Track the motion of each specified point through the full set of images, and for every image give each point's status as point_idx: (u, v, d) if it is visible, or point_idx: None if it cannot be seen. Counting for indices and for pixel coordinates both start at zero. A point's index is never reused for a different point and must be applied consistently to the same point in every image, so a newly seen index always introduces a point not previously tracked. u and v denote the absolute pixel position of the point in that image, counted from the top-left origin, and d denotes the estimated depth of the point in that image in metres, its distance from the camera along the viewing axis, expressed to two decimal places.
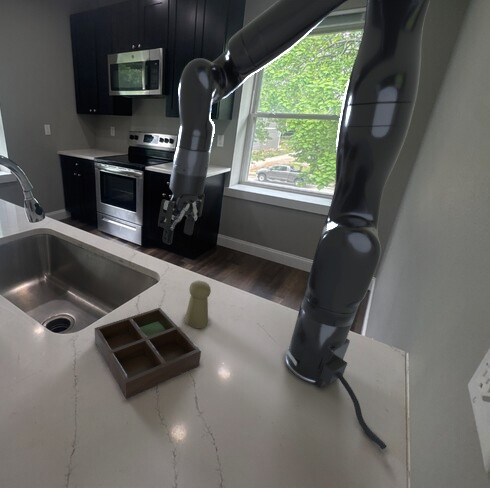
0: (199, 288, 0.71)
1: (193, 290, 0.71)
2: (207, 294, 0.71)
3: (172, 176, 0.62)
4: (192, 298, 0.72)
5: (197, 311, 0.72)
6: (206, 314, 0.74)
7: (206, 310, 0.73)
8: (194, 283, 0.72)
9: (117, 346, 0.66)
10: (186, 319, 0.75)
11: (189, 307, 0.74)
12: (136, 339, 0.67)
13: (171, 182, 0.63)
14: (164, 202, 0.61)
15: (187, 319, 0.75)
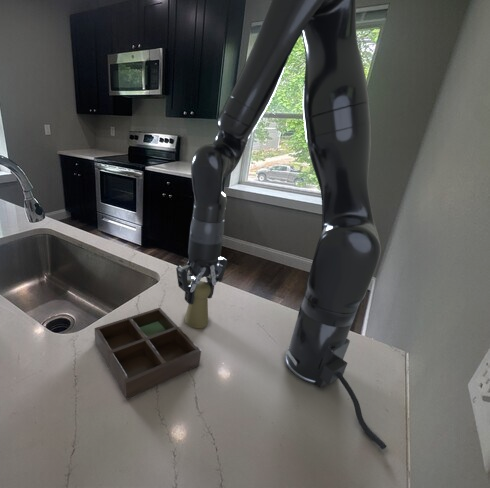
0: (199, 288, 0.70)
1: None
2: (207, 294, 0.71)
3: (189, 242, 0.68)
4: None
5: (197, 311, 0.72)
6: (206, 314, 0.74)
7: (206, 310, 0.73)
8: None
9: (117, 346, 0.66)
10: (186, 319, 0.75)
11: (189, 307, 0.74)
12: (136, 339, 0.67)
13: (188, 247, 0.68)
14: (178, 269, 0.67)
15: (187, 319, 0.75)
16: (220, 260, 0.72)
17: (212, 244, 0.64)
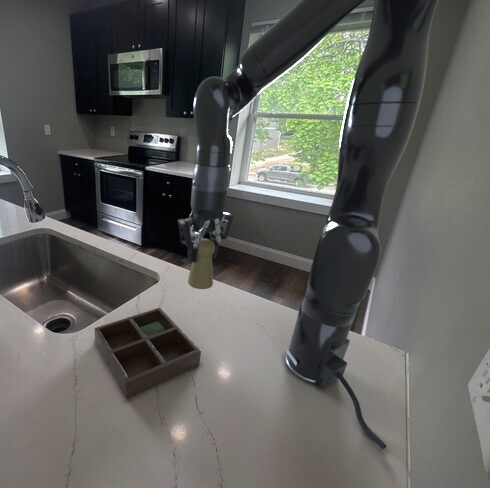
0: (202, 244, 0.66)
1: None
2: (211, 251, 0.66)
3: None
4: None
5: (201, 270, 0.68)
6: (210, 274, 0.69)
7: (210, 270, 0.69)
8: None
9: (117, 346, 0.66)
10: (189, 280, 0.70)
11: (192, 267, 0.69)
12: (136, 339, 0.67)
13: (191, 198, 0.64)
14: (180, 222, 0.62)
15: (190, 280, 0.70)
16: (225, 215, 0.67)
17: (217, 192, 0.59)
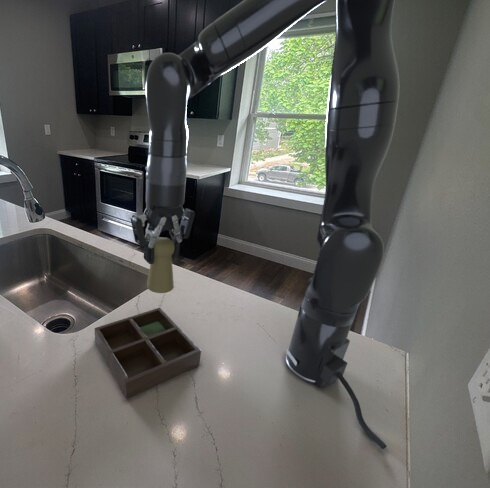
0: (159, 243, 0.59)
1: None
2: (169, 251, 0.60)
3: None
4: None
5: (158, 273, 0.61)
6: (170, 277, 0.63)
7: (170, 272, 0.62)
8: None
9: (117, 346, 0.66)
10: (147, 283, 0.64)
11: (150, 268, 0.63)
12: (136, 339, 0.67)
13: None
14: (132, 219, 0.56)
15: (148, 283, 0.64)
16: (186, 212, 0.61)
17: (171, 185, 0.53)
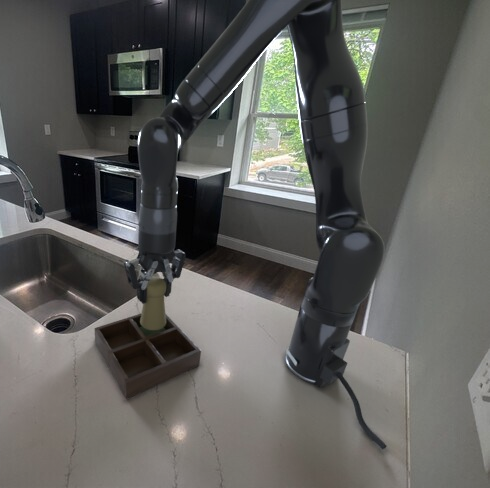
0: (152, 284, 0.62)
1: None
2: (161, 292, 0.63)
3: None
4: None
5: (151, 311, 0.64)
6: (162, 314, 0.66)
7: (162, 310, 0.65)
8: None
9: (117, 346, 0.66)
10: (141, 320, 0.67)
11: (143, 306, 0.66)
12: (136, 339, 0.67)
13: None
14: (125, 263, 0.59)
15: (141, 320, 0.67)
16: (177, 254, 0.64)
17: (162, 234, 0.56)
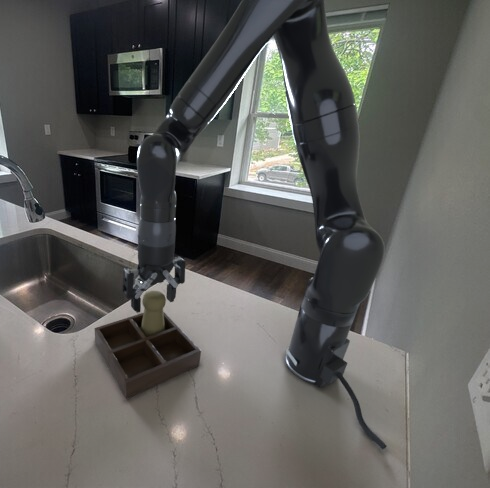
0: (151, 299, 0.64)
1: (145, 301, 0.64)
2: (161, 306, 0.64)
3: None
4: (145, 310, 0.66)
5: (150, 325, 0.66)
6: (161, 327, 0.67)
7: (161, 323, 0.67)
8: (147, 293, 0.66)
9: (117, 346, 0.66)
10: None
11: (143, 320, 0.67)
12: (136, 339, 0.67)
13: None
14: (125, 271, 0.59)
15: None
16: (176, 262, 0.65)
17: (161, 247, 0.57)
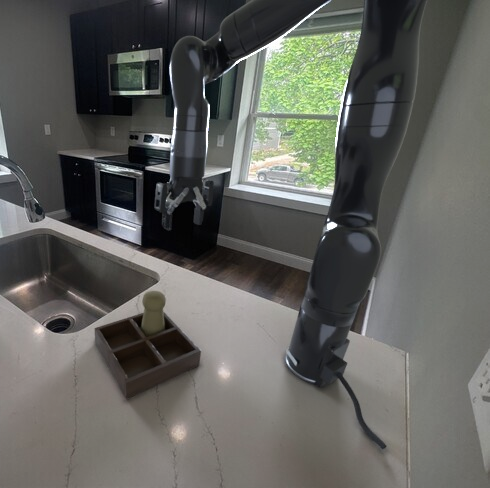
0: (151, 299, 0.64)
1: (145, 301, 0.64)
2: (161, 306, 0.64)
3: (170, 160, 0.62)
4: (145, 310, 0.66)
5: (150, 325, 0.66)
6: (161, 327, 0.67)
7: (161, 323, 0.67)
8: (147, 293, 0.66)
9: (117, 346, 0.66)
10: None
11: (143, 320, 0.67)
12: (136, 339, 0.67)
13: None
14: (158, 184, 0.61)
15: None
16: (205, 182, 0.67)
17: (194, 157, 0.59)
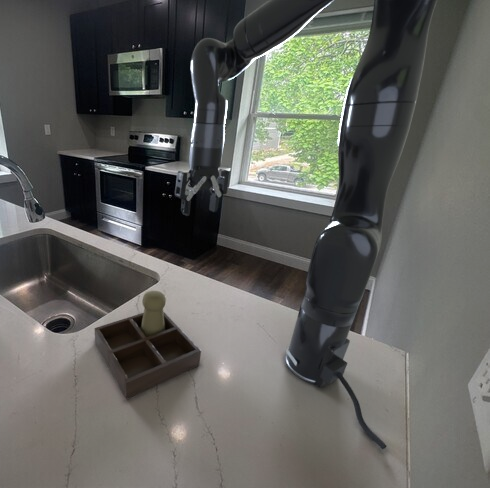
0: (151, 299, 0.64)
1: (145, 301, 0.64)
2: (161, 306, 0.64)
3: None
4: (145, 310, 0.66)
5: (150, 325, 0.66)
6: (161, 327, 0.67)
7: (161, 323, 0.67)
8: (147, 293, 0.66)
9: (117, 346, 0.66)
10: None
11: (143, 320, 0.67)
12: (136, 339, 0.67)
13: (189, 156, 0.69)
14: (179, 173, 0.67)
15: None
16: (221, 172, 0.72)
17: (213, 148, 0.65)
